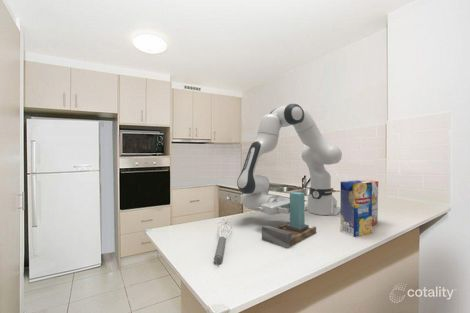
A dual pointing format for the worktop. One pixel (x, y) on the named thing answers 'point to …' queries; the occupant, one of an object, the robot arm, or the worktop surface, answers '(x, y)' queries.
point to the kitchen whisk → (220, 246)
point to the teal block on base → (297, 212)
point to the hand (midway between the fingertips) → (294, 209)
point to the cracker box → (374, 201)
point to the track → (285, 235)
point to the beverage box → (356, 208)
